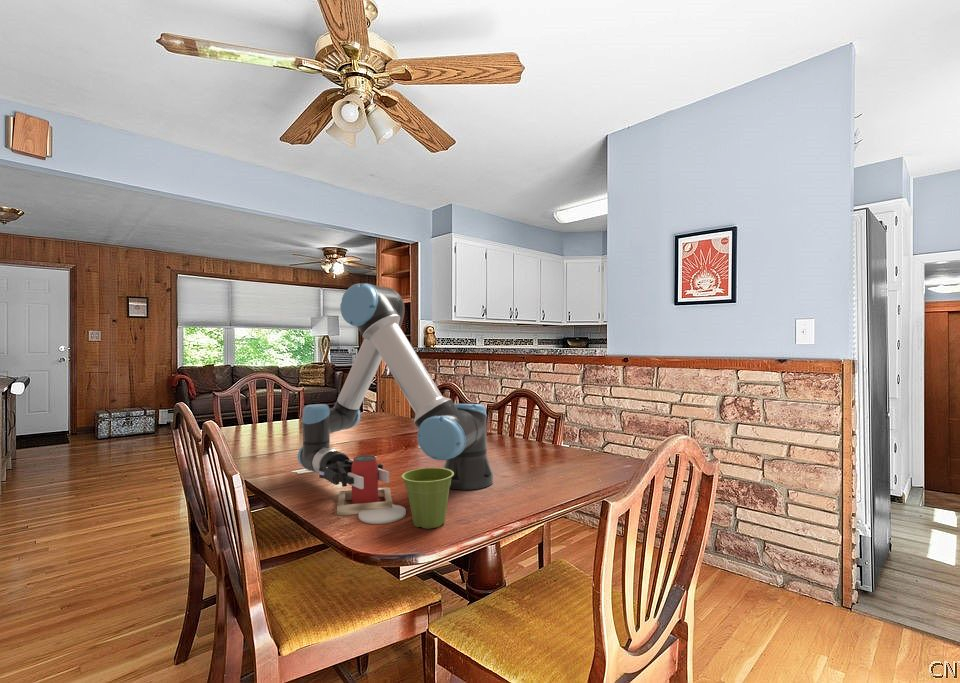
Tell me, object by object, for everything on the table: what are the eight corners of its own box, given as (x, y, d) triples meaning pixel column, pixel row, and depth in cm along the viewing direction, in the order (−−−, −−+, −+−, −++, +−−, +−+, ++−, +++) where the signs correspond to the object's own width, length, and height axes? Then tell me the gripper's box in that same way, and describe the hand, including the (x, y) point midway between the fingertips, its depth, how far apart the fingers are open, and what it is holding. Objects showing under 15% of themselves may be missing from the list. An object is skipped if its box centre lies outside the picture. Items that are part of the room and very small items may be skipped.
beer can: (371, 509, 121) (371, 461, 121) (347, 508, 122) (346, 460, 122) (382, 501, 127) (381, 454, 127) (358, 499, 129) (358, 454, 129)
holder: (389, 494, 132) (389, 487, 132) (392, 510, 120) (392, 502, 120) (339, 498, 129) (339, 491, 129) (337, 515, 117) (337, 507, 117)
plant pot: (434, 510, 120) (433, 464, 120) (465, 523, 111) (464, 474, 111) (392, 522, 112) (391, 473, 112) (421, 538, 103) (421, 484, 103)
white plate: (403, 505, 123) (403, 502, 123) (407, 521, 113) (407, 517, 113) (358, 509, 121) (358, 506, 121) (358, 525, 110) (358, 522, 110)
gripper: (362, 470, 144) (408, 486, 128) (297, 484, 131) (339, 504, 114) (362, 445, 144) (407, 458, 128) (297, 456, 131) (338, 472, 114)
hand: (375, 480), depth 121 cm, fingers closed on beer can, 6 cm apart
